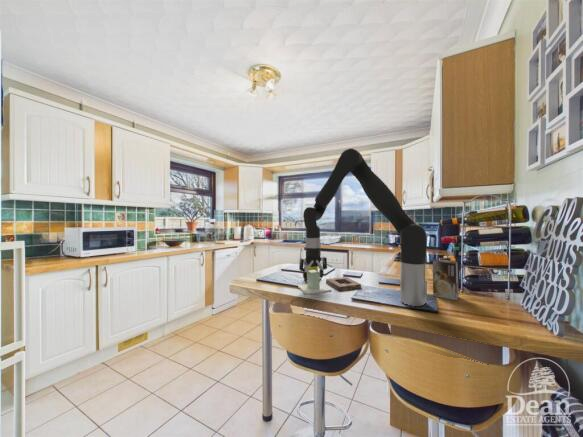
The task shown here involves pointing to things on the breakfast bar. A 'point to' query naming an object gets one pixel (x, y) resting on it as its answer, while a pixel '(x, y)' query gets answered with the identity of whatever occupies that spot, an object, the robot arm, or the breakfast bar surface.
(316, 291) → the tile mat
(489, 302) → the breakfast bar surface
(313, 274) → the sage block
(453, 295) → the coffee box
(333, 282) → the frame
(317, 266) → the supplement box
